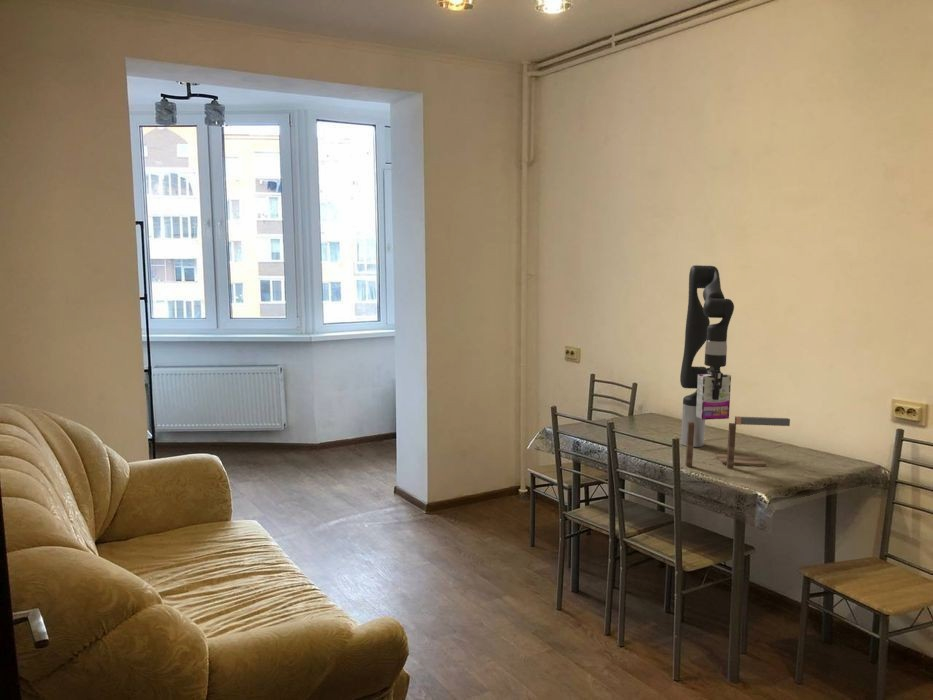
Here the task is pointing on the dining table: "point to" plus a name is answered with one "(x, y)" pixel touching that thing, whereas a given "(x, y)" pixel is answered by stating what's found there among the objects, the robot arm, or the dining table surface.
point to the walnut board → (742, 460)
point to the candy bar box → (706, 404)
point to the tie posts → (729, 451)
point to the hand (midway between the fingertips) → (713, 397)
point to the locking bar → (762, 421)
